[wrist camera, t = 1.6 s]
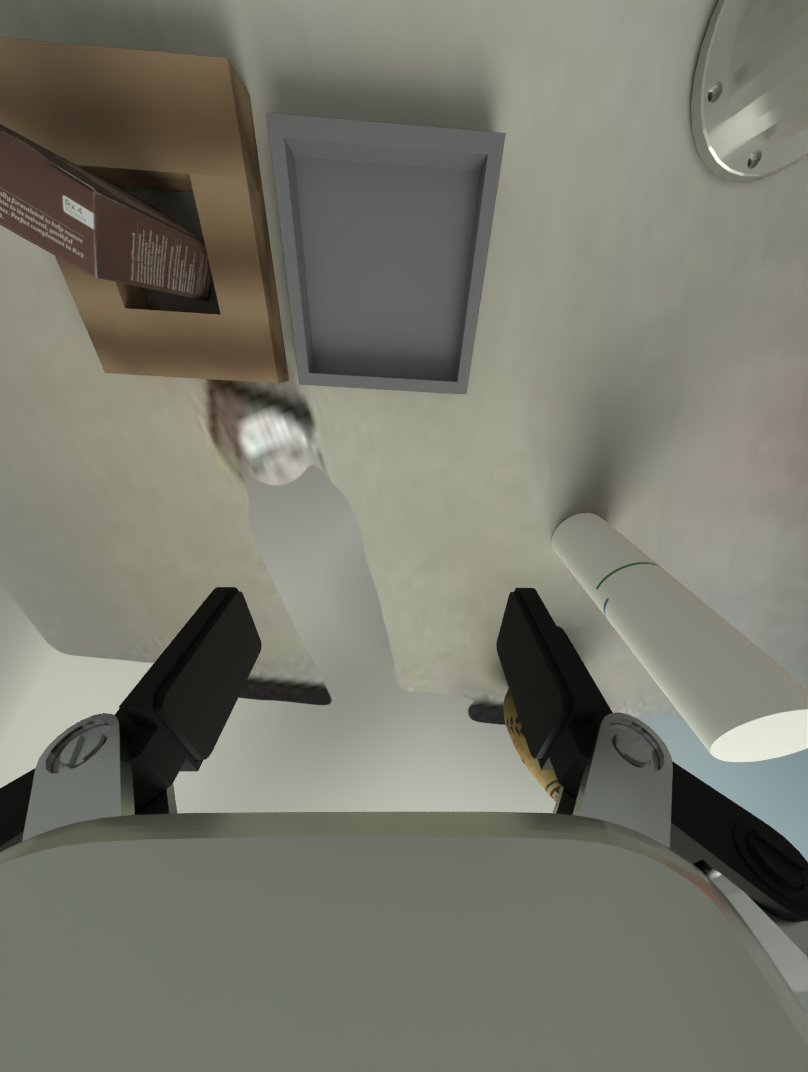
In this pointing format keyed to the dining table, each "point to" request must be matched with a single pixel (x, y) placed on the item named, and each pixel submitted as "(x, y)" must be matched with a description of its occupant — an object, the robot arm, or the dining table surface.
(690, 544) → the dining table surface
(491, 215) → the tray
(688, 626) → the cylindrical container
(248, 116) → the socket board
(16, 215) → the box
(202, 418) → the dining table surface
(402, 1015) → the robot arm
